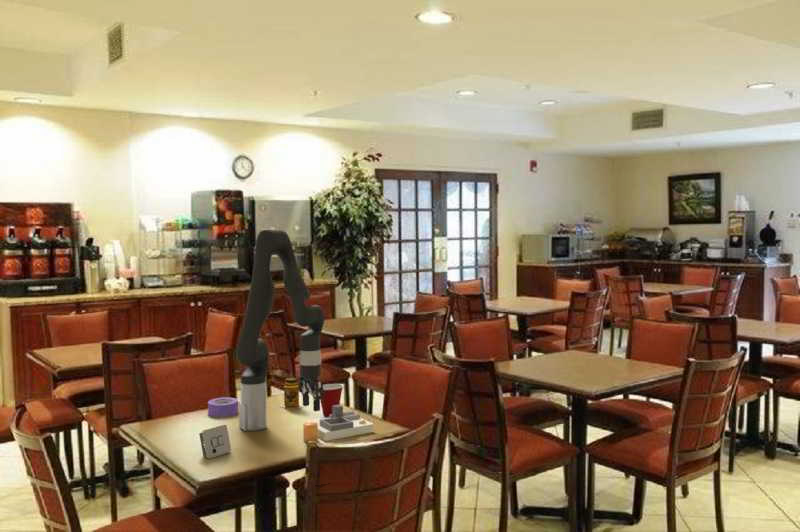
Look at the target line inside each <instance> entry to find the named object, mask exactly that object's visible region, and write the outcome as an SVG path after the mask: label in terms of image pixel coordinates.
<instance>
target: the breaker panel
mask: <svg viewBox="0 0 800 532" xmlns="http://www.w3.org/2000/svg"><path fill="white" fill-rule="evenodd" d="M307 422H315V423H318V439H320V440H322V441H324V442H326V441H333V440H338V439H344V438H348V437H353V436H360V435H364V434H370V433H375V431H374V429H375V428H374V426H375V425H374V423H373V422H371V421H368V420H366V419H364V418H362V417H361V414H360V413H355V411H354V410H351V411H343V416H340V417H334V418H332V414H330V415H329V417H326V418H319V419H314V420H308V421H305V422H304V423H307Z"/></svg>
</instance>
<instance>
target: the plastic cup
mask: <svg viewBox="0 0 800 532" xmlns="http://www.w3.org/2000/svg"><path fill="white" fill-rule="evenodd" d="M343 388H344V384H342V383H325V384H323V399H321V400H320V407H321V410H322V414H323V416H324V417H326V418H329V415H330V414H332V406H333V405H341V397H342V393H343ZM320 396H321V393H320Z"/></svg>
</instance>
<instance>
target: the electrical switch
mask: <svg viewBox="0 0 800 532" xmlns="http://www.w3.org/2000/svg"><path fill="white" fill-rule="evenodd" d="M198 435H199V440H200V445H201V451H202V456H203V457H206V459H208V460H209V459H213V458H216V457H219V456H222V455H225V454H229V453H231V451H232V447H231V442H230V436H229V431H228V427H227V425H226V424H221V425H218V426H214V427H210V428H206V429H203V430H202V431H201V432H200V433H199V434H198Z"/></svg>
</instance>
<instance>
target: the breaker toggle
mask: <svg viewBox="0 0 800 532" xmlns="http://www.w3.org/2000/svg"><path fill="white" fill-rule="evenodd" d="M343 412H344V405H342V404H340V405H333V406H332V418H334V417H340V416H343Z"/></svg>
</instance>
